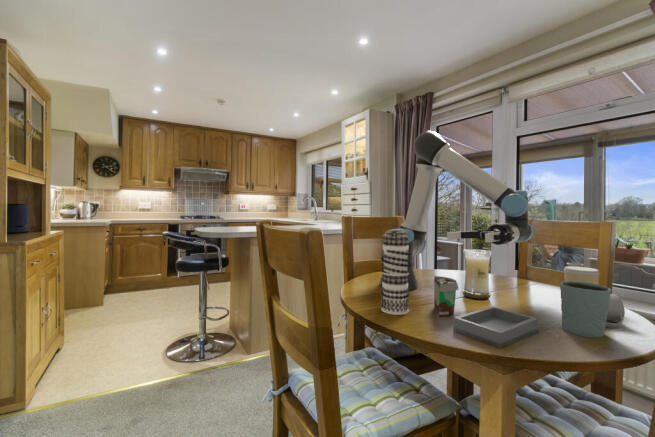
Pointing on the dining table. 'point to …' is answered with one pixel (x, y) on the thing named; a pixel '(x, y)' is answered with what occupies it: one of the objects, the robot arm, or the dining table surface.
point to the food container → (444, 295)
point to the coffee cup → (581, 274)
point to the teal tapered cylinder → (584, 308)
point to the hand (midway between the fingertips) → (466, 237)
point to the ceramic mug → (615, 312)
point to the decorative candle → (395, 272)
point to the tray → (496, 326)
